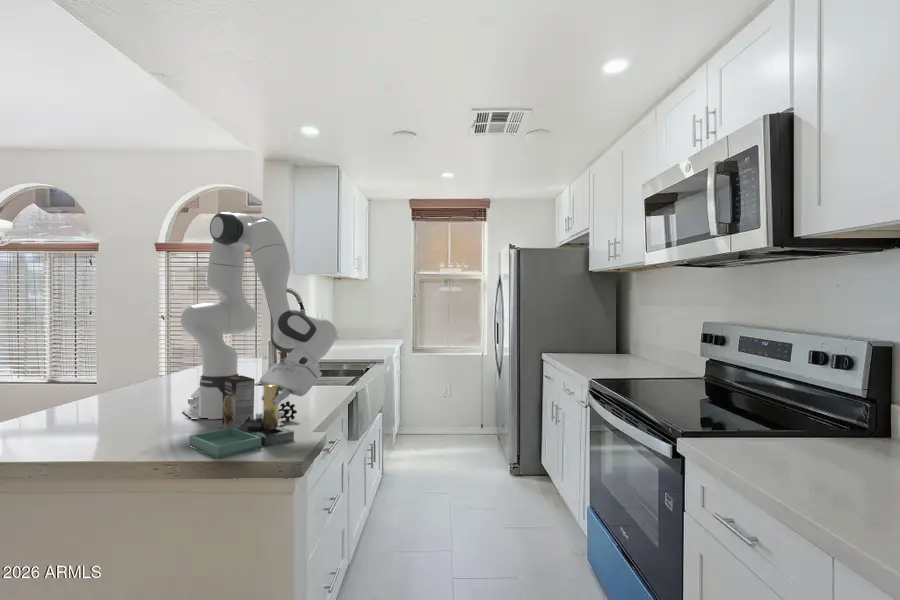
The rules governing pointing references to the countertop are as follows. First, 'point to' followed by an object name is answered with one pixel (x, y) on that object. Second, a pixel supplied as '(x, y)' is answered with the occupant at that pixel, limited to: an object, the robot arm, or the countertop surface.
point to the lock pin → (270, 407)
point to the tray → (225, 442)
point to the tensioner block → (267, 432)
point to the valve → (286, 411)
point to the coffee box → (237, 401)
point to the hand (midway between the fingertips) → (269, 401)
